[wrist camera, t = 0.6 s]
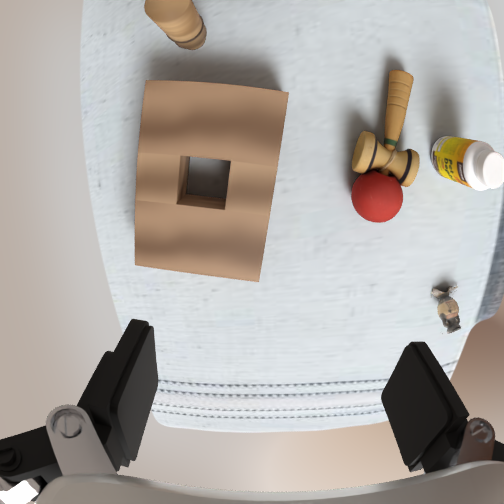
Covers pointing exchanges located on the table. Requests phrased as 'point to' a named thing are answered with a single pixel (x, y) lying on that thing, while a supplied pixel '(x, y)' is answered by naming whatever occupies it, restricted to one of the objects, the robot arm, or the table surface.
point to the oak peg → (178, 21)
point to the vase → (447, 310)
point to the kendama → (385, 159)
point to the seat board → (215, 147)
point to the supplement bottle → (468, 162)
